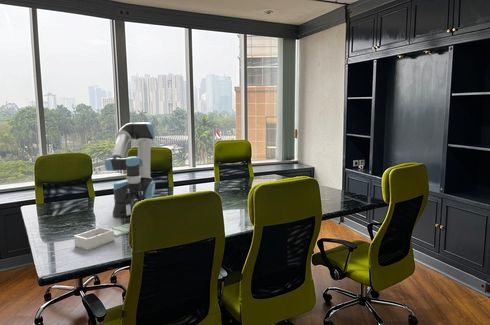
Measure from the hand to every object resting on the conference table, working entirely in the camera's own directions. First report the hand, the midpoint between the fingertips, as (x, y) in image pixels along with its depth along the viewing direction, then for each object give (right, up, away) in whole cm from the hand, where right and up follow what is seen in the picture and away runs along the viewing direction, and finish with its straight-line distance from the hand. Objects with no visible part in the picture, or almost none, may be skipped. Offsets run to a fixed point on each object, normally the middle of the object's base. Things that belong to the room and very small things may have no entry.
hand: (136, 216), depth 225 cm
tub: (-14, -10, -29) cm, 33 cm away
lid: (-5, -7, -6) cm, 11 cm away
